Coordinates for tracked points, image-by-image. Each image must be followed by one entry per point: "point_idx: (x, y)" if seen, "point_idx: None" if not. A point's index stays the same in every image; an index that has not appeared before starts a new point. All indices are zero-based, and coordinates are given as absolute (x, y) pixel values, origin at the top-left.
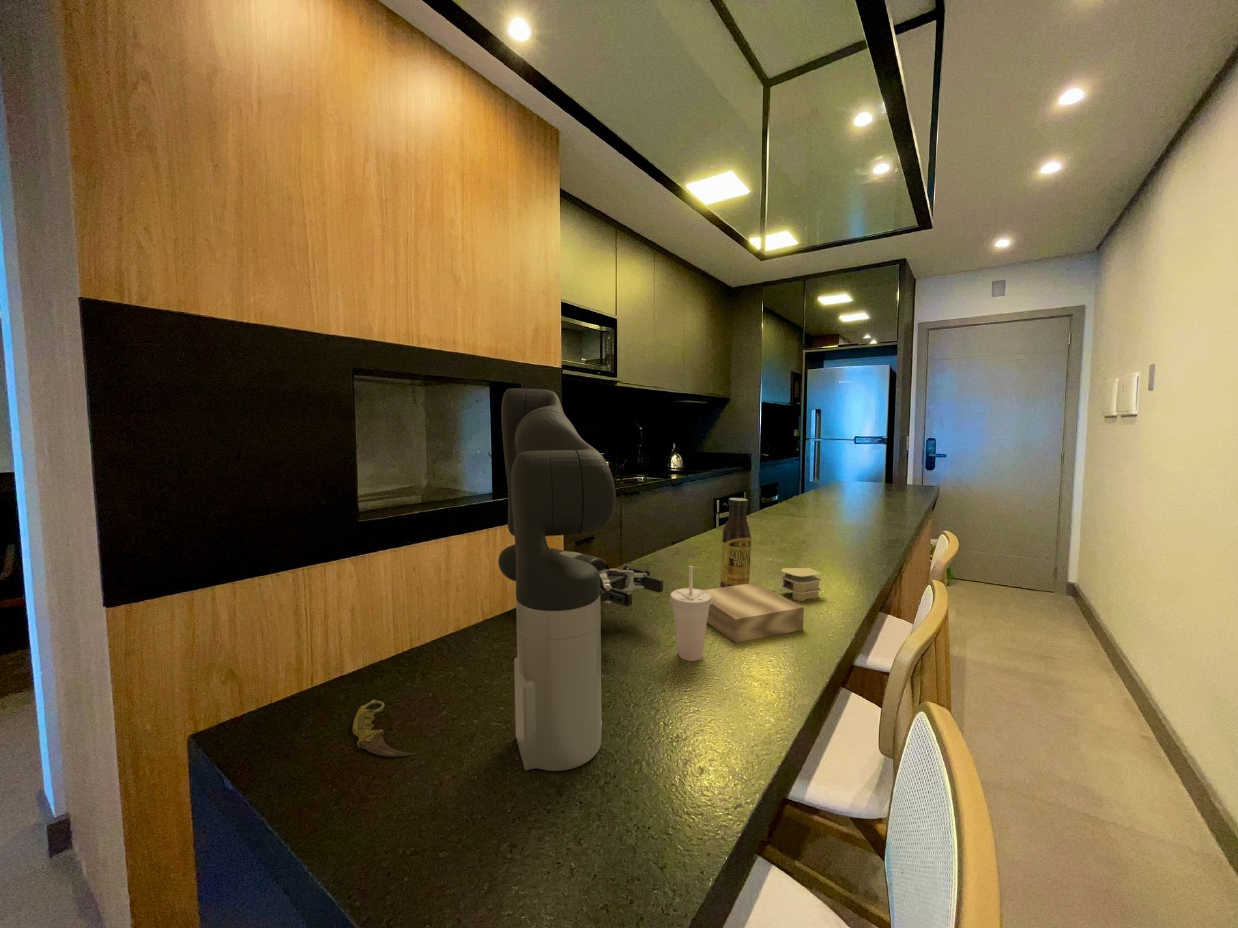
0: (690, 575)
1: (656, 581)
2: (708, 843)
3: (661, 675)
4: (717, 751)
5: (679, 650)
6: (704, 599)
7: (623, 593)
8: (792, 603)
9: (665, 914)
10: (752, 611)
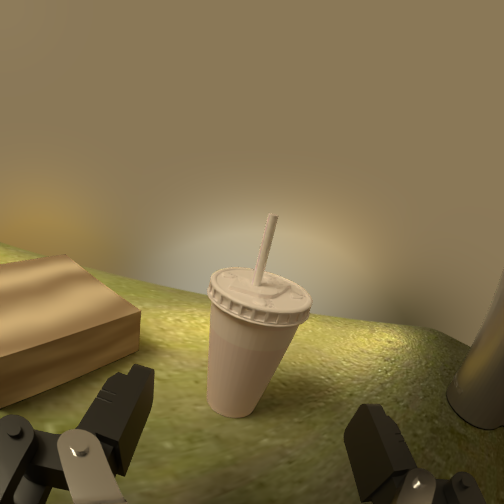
0: (271, 238)
1: (146, 387)
2: (413, 330)
3: (327, 412)
4: (368, 339)
5: (257, 402)
6: (263, 274)
7: (386, 421)
8: (51, 258)
9: (441, 332)
10: (93, 292)
